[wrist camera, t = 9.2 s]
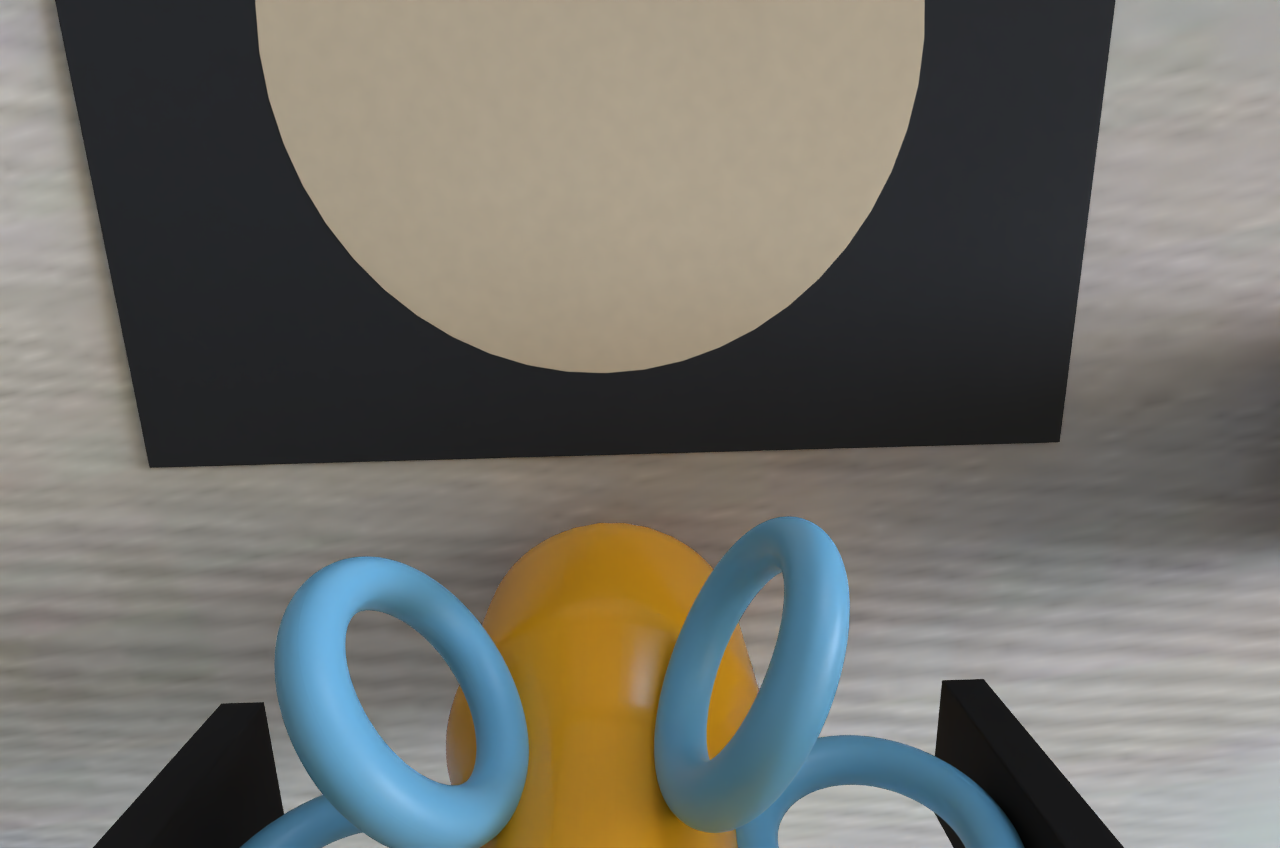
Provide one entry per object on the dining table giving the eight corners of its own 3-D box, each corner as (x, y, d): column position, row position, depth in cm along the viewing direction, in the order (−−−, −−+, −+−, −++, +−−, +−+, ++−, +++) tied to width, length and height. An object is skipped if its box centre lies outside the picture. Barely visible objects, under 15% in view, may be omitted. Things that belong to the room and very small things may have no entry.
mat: (152, 466, 17) (149, 468, 16) (-42, -497, 12) (-48, -504, 12) (1057, 441, 17) (1059, 442, 17) (1176, -509, 13) (1181, -516, 12)
